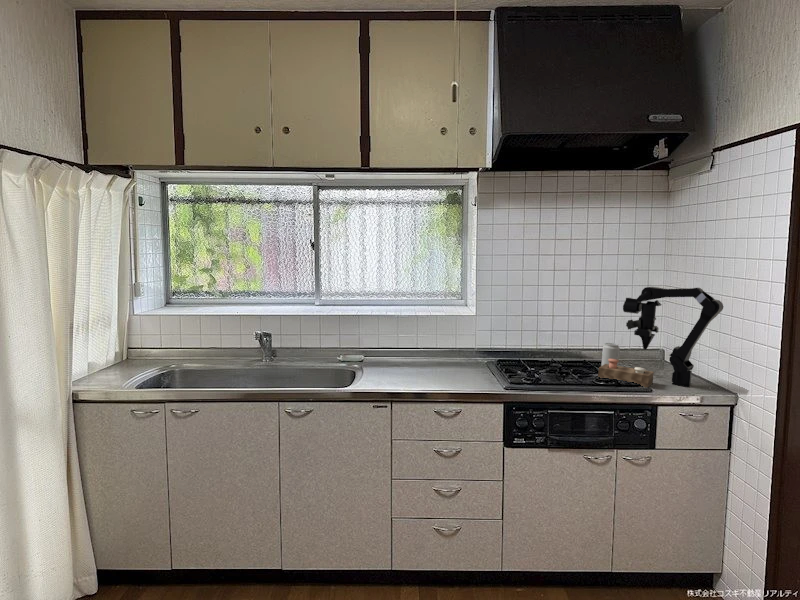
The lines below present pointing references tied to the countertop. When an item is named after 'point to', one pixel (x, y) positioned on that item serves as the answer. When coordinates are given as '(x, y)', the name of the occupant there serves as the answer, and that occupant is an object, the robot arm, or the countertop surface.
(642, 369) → the cream plug
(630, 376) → the socket board
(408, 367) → the countertop surface
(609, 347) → the can
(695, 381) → the countertop surface
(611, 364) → the brick plug
